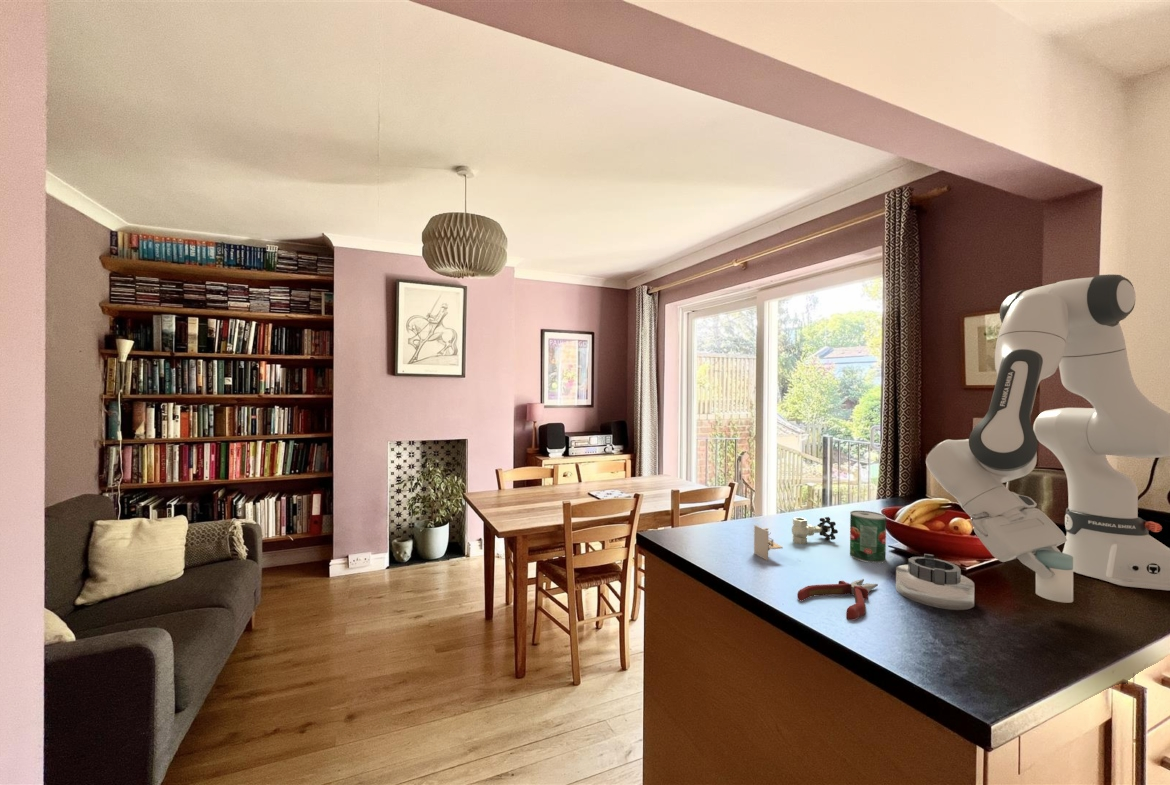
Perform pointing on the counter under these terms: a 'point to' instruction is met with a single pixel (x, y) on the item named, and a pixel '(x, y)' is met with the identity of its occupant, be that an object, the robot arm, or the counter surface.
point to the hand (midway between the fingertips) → (1058, 574)
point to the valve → (811, 530)
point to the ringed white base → (935, 583)
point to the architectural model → (763, 542)
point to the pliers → (842, 589)
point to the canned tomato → (868, 536)
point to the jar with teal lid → (1056, 576)
